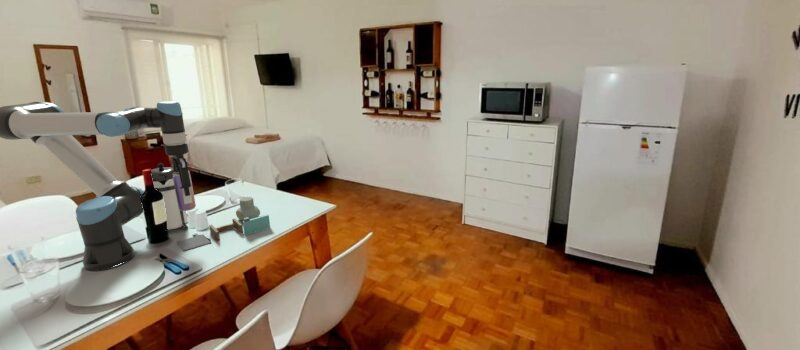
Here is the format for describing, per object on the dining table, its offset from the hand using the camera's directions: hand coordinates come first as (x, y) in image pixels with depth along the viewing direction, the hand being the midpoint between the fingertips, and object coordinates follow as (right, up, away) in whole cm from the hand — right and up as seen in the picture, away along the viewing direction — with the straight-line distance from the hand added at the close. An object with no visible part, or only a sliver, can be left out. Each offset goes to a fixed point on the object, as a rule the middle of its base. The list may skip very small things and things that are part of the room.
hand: (186, 200), depth 146 cm
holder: (+10, -15, +13) cm, 23 cm away
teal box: (+22, -14, +16) cm, 31 cm away
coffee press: (-18, -14, +20) cm, 30 cm away
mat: (0, -18, +5) cm, 18 cm away
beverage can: (0, -3, +1) cm, 4 cm away
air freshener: (+13, -11, +29) cm, 33 cm away
